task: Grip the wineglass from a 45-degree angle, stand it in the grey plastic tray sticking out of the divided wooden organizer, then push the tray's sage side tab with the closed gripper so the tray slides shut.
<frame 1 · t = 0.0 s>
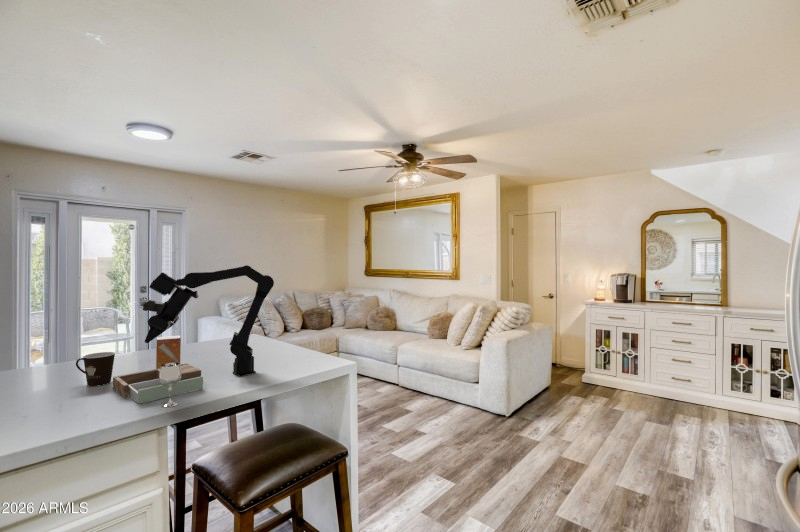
hand: (149, 340, 131), 15 cm above the worktop, tool tilted 35°, fingers open, 9 cm apart
small box: (168, 370, 146), on the worktop
divided wooden organizer: (143, 388, 124), on the worktop
coffee mug: (96, 383, 130), on the worktop
tray: (165, 385, 122), point 2 cm above the worktop, slide at 8.0 cm
wineglass: (170, 405, 111), on the worktop
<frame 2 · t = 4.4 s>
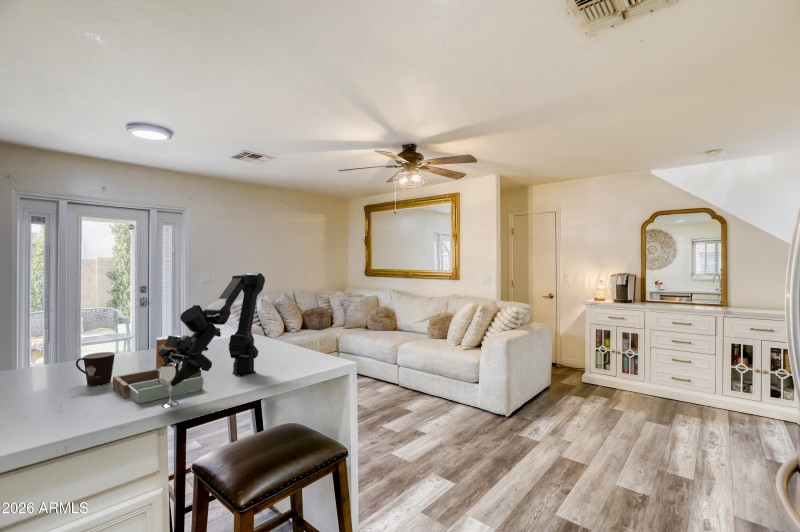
hand: (165, 383, 109), 7 cm above the worktop, tool tilted 45°, fingers closed on wineglass, 6 cm apart
wineglass: (170, 405, 111), on the worktop, touching gripper
everything else where it was.
when the fingers open (9 cm above the worktop, at t = 8.4 s): wineglass drops 1 cm, resting on tray.
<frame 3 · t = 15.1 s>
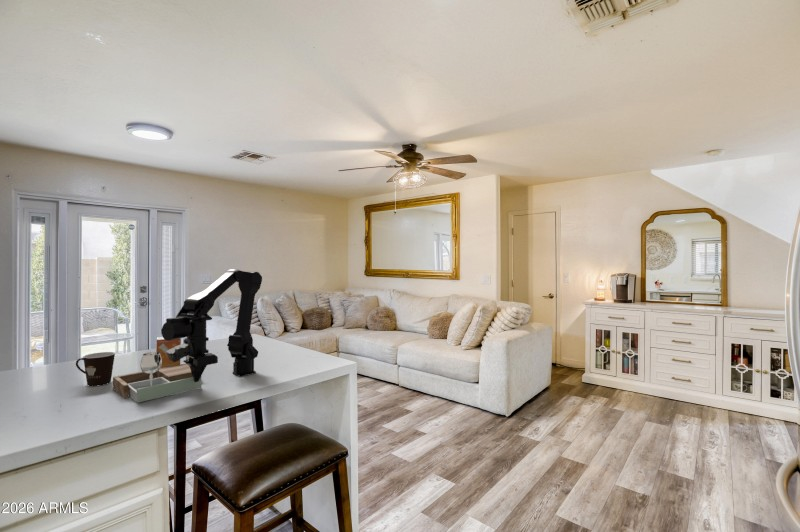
hand: (196, 381, 123), 3 cm above the worktop, tool pointing down, fingers closed
tray: (164, 384, 122), point 2 cm above the worktop, slide at 6.7 cm, touching gripper, wineglass
wineglass: (151, 391, 119), point 1 cm above the worktop, touching tray
everything else where it was.
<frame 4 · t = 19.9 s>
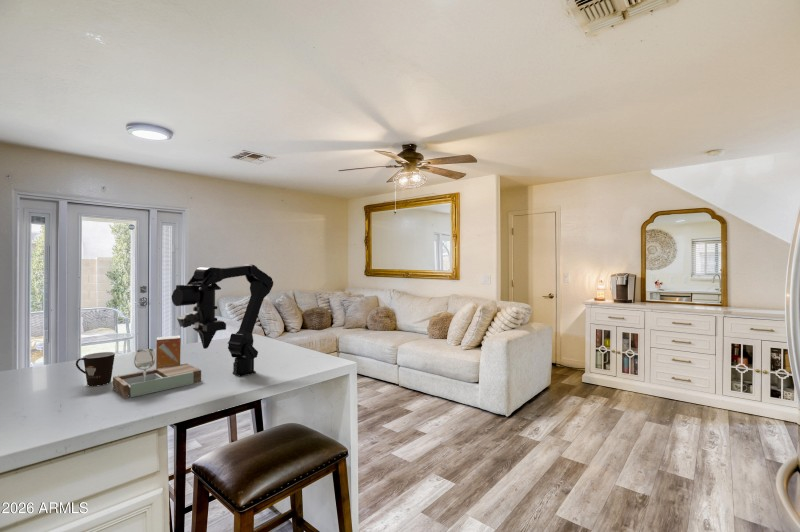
hand: (205, 348, 128), 13 cm above the worktop, tool pointing down, fingers closed
tray: (157, 379, 127), point 2 cm above the worktop, slide at 0.0 cm, touching wineglass
wineglass: (144, 386, 124), point 1 cm above the worktop, touching tray
everything else where it was.
at the end: tray slide at 0.0 cm; wineglass inside the target area (0.7 cm from its centre), point 0.8 cm above the worktop; wineglass tilted 0° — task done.
